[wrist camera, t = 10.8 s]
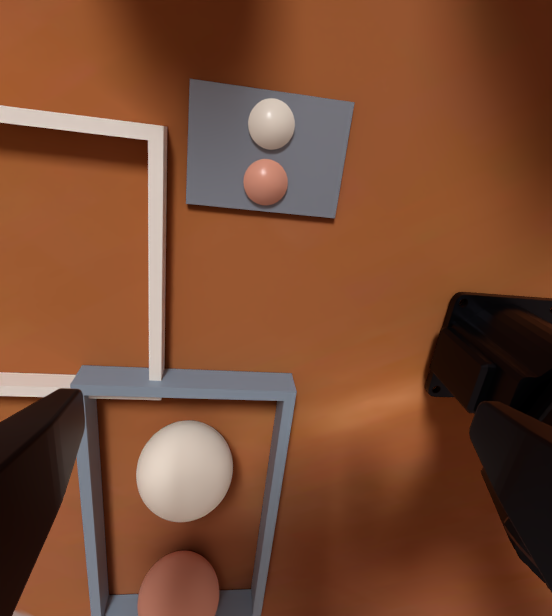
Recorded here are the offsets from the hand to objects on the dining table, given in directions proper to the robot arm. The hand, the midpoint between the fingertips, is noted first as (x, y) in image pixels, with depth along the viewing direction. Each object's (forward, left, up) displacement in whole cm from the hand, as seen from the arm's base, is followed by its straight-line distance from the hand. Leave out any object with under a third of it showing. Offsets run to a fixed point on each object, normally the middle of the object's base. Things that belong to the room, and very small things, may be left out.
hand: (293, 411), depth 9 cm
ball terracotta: (+3, +22, -12) cm, 25 cm away
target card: (0, -5, -12) cm, 13 cm away
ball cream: (+3, +11, -12) cm, 17 cm away
